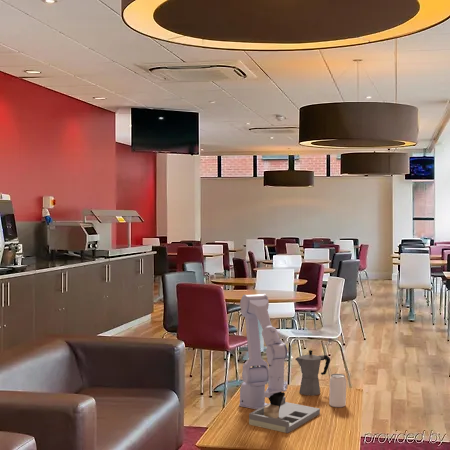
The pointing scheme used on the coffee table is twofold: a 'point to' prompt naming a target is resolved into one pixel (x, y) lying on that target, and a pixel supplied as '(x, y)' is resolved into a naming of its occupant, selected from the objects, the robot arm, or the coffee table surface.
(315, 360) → the coffeepot
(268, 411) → the block
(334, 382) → the can
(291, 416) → the box
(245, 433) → the coffee table surface
